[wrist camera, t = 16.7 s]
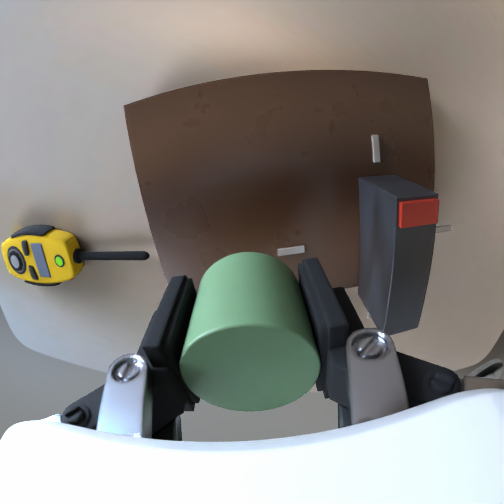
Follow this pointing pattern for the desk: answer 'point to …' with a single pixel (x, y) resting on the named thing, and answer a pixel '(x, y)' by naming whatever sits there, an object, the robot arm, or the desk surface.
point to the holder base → (275, 164)
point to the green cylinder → (249, 336)
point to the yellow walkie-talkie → (52, 255)
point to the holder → (395, 249)
